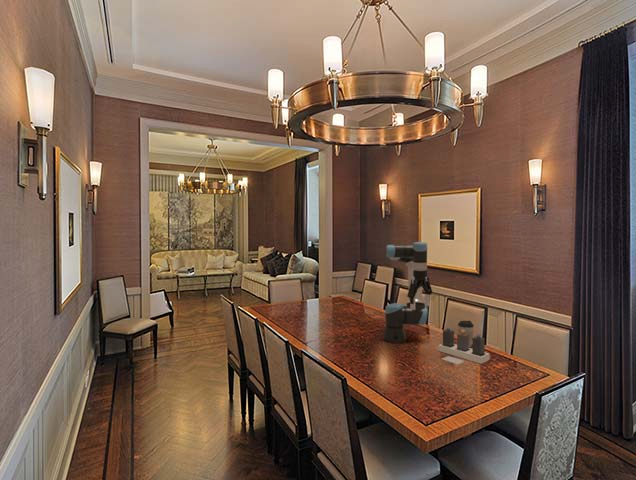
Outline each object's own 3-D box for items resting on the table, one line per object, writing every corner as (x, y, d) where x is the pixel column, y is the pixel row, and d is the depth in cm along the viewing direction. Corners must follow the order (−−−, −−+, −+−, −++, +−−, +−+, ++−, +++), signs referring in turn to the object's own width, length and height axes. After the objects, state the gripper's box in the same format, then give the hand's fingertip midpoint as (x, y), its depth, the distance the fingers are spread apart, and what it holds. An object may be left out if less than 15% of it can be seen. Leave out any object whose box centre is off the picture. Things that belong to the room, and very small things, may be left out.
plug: (464, 357, 197) (464, 331, 196) (457, 354, 200) (457, 329, 200) (468, 355, 199) (468, 330, 199) (461, 353, 203) (461, 328, 202)
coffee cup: (464, 348, 212) (464, 324, 211) (454, 343, 220) (454, 320, 220) (476, 347, 214) (477, 322, 214) (466, 342, 223) (467, 319, 222)
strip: (438, 351, 207) (438, 326, 206) (446, 348, 213) (446, 323, 212) (481, 365, 187) (481, 337, 186) (489, 360, 193) (489, 333, 192)
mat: (441, 359, 195) (441, 359, 195) (448, 356, 199) (448, 355, 199) (458, 365, 187) (458, 364, 187) (464, 361, 192) (464, 361, 192)
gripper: (412, 272, 185) (412, 312, 186) (438, 268, 200) (438, 305, 201) (400, 271, 191) (400, 310, 191) (427, 267, 206) (427, 303, 207)
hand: (420, 307), depth 196 cm, fingers open, 13 cm apart
